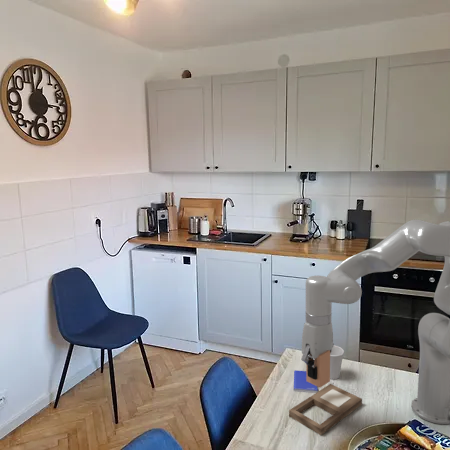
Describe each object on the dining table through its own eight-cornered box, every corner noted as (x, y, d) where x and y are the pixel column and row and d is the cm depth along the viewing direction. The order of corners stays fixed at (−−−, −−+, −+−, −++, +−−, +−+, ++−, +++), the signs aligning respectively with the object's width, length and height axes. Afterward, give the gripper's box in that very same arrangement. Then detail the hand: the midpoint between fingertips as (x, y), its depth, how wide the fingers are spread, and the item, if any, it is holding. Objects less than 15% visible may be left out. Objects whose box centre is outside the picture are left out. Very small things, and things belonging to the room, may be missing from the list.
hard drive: (317, 390, 135) (316, 371, 147) (293, 388, 136) (294, 370, 149) (317, 394, 135) (316, 375, 147) (293, 392, 137) (294, 374, 149)
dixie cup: (343, 382, 141) (343, 356, 139) (319, 379, 144) (319, 353, 142) (343, 371, 149) (344, 346, 147) (320, 368, 151) (321, 343, 150)
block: (329, 381, 120) (330, 350, 119) (319, 387, 117) (320, 356, 116) (316, 375, 124) (316, 345, 123) (306, 381, 121) (306, 350, 119)
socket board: (361, 404, 128) (362, 398, 128) (321, 435, 114) (321, 428, 114) (330, 389, 137) (330, 383, 137) (289, 416, 123) (289, 409, 123)
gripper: (324, 307, 126) (324, 360, 129) (290, 322, 115) (290, 380, 118) (345, 313, 120) (344, 368, 123) (311, 329, 109) (310, 390, 112)
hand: (318, 373), depth 120 cm, fingers closed on block, 5 cm apart
